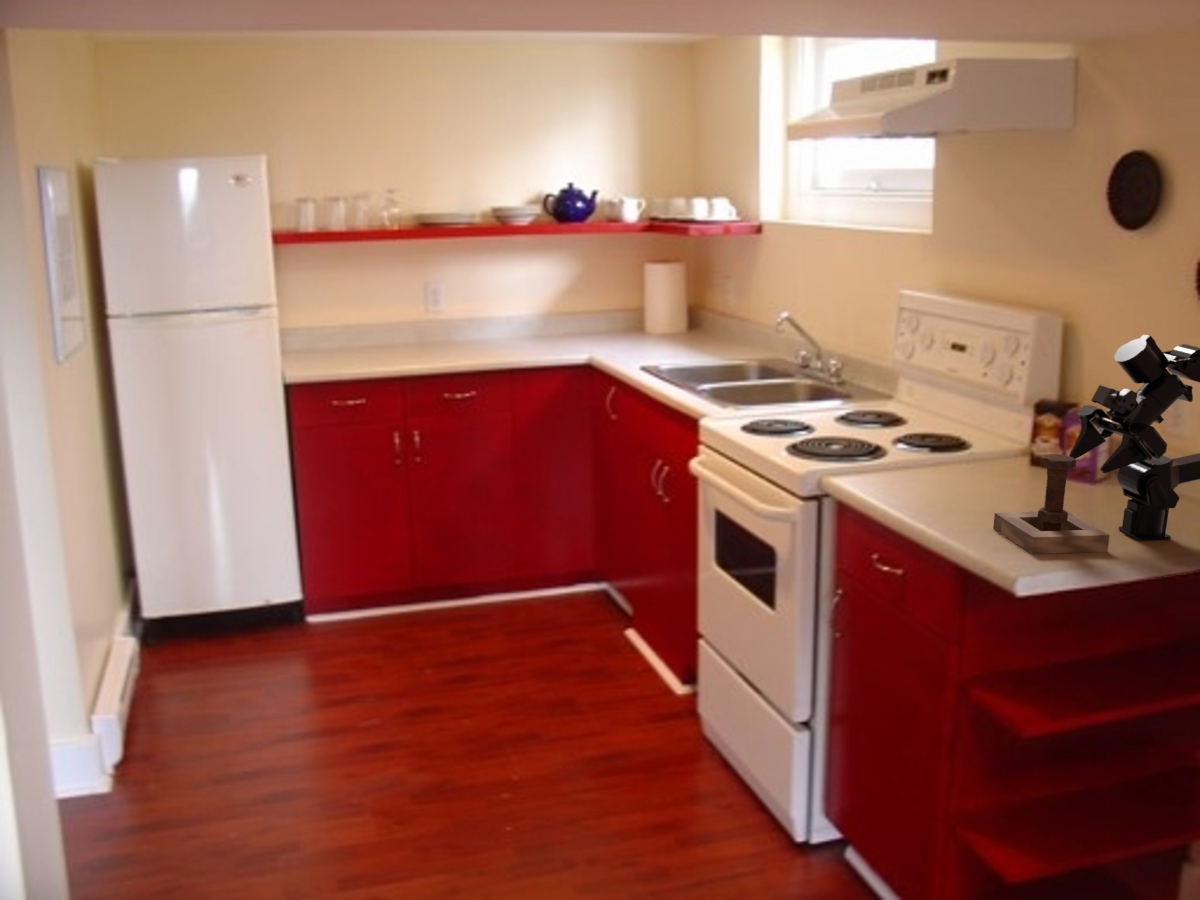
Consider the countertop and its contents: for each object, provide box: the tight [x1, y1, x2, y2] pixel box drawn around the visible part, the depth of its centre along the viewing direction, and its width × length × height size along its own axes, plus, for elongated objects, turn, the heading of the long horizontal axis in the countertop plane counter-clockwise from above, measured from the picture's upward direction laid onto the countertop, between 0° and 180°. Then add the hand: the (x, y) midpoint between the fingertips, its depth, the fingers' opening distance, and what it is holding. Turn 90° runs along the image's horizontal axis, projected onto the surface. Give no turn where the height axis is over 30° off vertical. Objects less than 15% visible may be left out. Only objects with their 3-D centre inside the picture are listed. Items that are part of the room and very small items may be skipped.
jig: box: [992, 510, 1111, 555], centre depth 204 cm, size 14×14×3 cm
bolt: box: [1037, 453, 1077, 531], centre depth 202 cm, size 6×5×15 cm
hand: (1086, 464), depth 202 cm, fingers open, 9 cm apart
